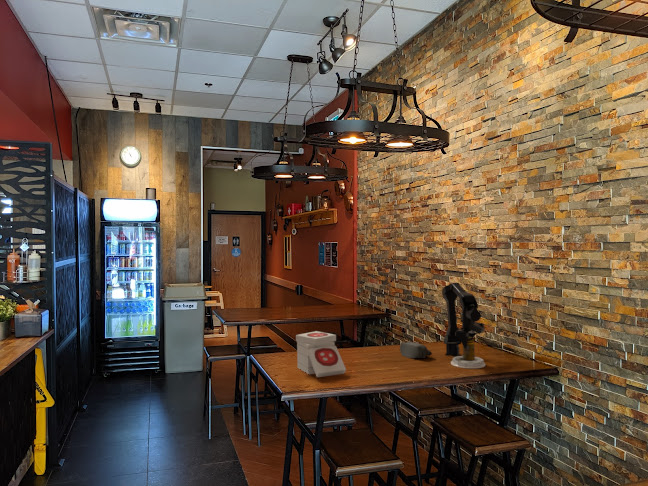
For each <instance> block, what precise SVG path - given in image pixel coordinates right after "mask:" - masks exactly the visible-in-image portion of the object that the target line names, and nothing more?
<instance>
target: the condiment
mask: <svg viewBox="0 0 648 486" xmlns="http://www.w3.org/2000/svg"><path fill="white" fill-rule="evenodd" d="M474 338H475V337H474ZM474 338H473V337H469V338H468V340H467V348H464V347H463V346H462V356H463V358H460V359H458V360H461V361H465V362H470V361H475V360H478V359H475V357H476V356H475V355H476V354H475V353H476V352H475V350H476V349H475V347H476V346H475V341H474V340H475V339H474Z"/></svg>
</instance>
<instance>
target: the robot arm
mask: <svg viewBox="0 0 648 486" xmlns="http://www.w3.org/2000/svg"><path fill="white" fill-rule="evenodd" d="M441 294H442V297H443V299H444V300H445V302H446V311H447V322H448V324H447V325H448V327H447V329H446V331H445V336H444V339H443V344H445V346H446V347H445V349H446V351H445V352H446V353H445V354H444V355H446V356H452V357H457V356H460V355H461V354H460V346H459V345H462V348H463V347H464V348H467V340H468V338H469V337H473V338H475V336H476V335H478V334H479V335H480V334H483V332H484V330H486V329H485V323H482V322H480V323H476V322H479V321H480V319H481V318H482V314H481V312H480V311H479V310H478V308H479V306H478V305H479V304H478V302H477V299H476V297H475V295H474V294H473V293H470V292H467V291H466V290H465V288H463V287H462V286H461V284H460V282H450V283H449V284H447V285H445V286H443V287H442V290H441ZM457 298H459V304H460V305H461V307H460V308H461V320H460V322H461V327H460V328H459V327H458V324H457V323H458V322H457V320H458V319H457V312H456V311H457V310H456V300H457Z"/></svg>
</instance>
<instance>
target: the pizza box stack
mask: <svg viewBox="0 0 648 486" xmlns="http://www.w3.org/2000/svg"><path fill="white" fill-rule="evenodd" d="M295 341H296V349H297V352H296V353H297V357H296V358H297V361H296V362H297V369H299V370H300V369H301V370H300V371H302V372H303V371H304V372H303V373H305V372H306V373H307V375H308V374H309V375H314V374H315V376H316V378H321V377H323V378H324V377H330V376H336V375H337V376H338V375H345V373H346V371H347V368H346V365H345V364H344V361H343V360H342V356H341V354H340V352H339V349H338V348H337V346H336V345H335V344H336V343H335V342H337V334H333V333H328V332H323V331H318V330H315V331H311V332H305V333H300V334H296V335H295ZM306 373H305V374H306Z"/></svg>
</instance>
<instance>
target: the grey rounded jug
mask: <svg viewBox="0 0 648 486" xmlns="http://www.w3.org/2000/svg"><path fill="white" fill-rule="evenodd" d="M399 352H400V354H401V356H403V357H405V358H410V359H413V360H414V359H425V358H426V357H427V356H429V357H430V356H432V355H433V352H432V351H431V350H429V349H428V348H427V346H426V345H424V344H421V343H418V342H412V341H406V342H401V343H400V345H399Z"/></svg>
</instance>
